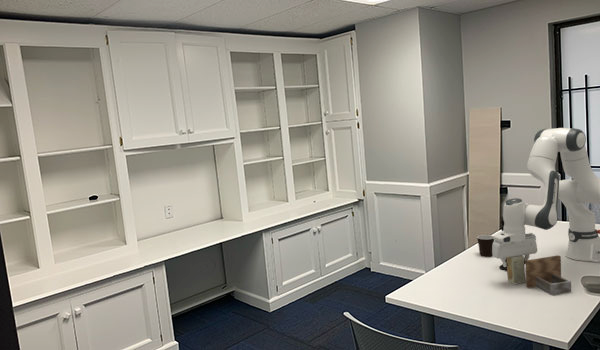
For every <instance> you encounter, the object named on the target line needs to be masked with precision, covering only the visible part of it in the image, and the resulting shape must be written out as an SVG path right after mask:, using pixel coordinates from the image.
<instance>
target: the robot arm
mask: <svg viewBox="0 0 600 350" xmlns="http://www.w3.org/2000/svg"><path fill="white" fill-rule="evenodd" d="M586 137H587V136H586V134H585V132H584V131H583V130H581V129H579V128H576V127H575V128H574V127H573V128H570V127H569V128H568V127H558V128H556V127H555V128H544V129H539V130H538V131H537V132H536V134H535V135H534V138H533V143H534V144H533V146H532V149H531V150H530V153H529V156H528V159H527V165H526V169H527V171H528V173H529V175H530V176H532V178H534V179H536V180H538V181H540V182H541V183H543V185H544V193H543V195H544V196H543V204H542V205H539V204H531V203H527V202H524V200H523V199H521V198H515V197H514V198H509V199H507V200H505V201H504V204H503V208H502V209H503V212H502V216H503V220H504V230H503V231H502V230H501V231H500V232H498V233H495V234H494V235H492V236H493V239H494V242H493V245H492V255H493V256H492V257H493V258H496V259H500V261H501V262H502V264H503V266H504V267H508V263H507V262H506V261H505V260H506V258H507V257H514V256H521V255H523V256H524V265H526V262H525V260H530V259H529V258H530V255H535V254H537V252H538V246H537V245H538V244H537V237H536V234H534V233H533V232H531V233H526V226H529V227H534V228H538V229H541V230H544V231H546V230H550V229H551V228H553V227H554V226H555V225H557V223H558V220H559V219H558V218H559V216H558V214H559V213H558V203H559V200H560V201H561V202H562V204H563V205H564V207H565V209H566V211H567V215H568V225H569V226H568V227H569V228H568V231H567V233H568V236H567V237H568V244H567V251H566V254H565V257H567V258H569V259H571V260H575V261H582V262H583V261H584V262H593V263H599V262H600V236H599V234H600V229H596V216H595V214H594V212H593V211H592V210H590V209H589V208H588V207H587V206H586V205H585V204H593V205H595V204H596V205H597V204H600V178H599V177H598V175H596V173H595V172H594V171H593V169H592V167H591V164H590V159H589V156H588V151H587V147H586V142H587V138H586ZM558 153H560V159H561V163H562V168H563V172H564V173H565V175H566V176H568V177H569V178H571V179H562V180H561V179H560V176H559V174H558V172H557V171H556V162H557V158H558ZM525 225H526V226H525Z"/></svg>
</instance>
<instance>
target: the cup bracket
mask: <svg viewBox="0 0 600 350" xmlns="http://www.w3.org/2000/svg"><path fill="white" fill-rule="evenodd" d="M525 262H526V264H525V286H526V288H527V289H530V288H537V289H539V290H540V291H542V292H545V293H547V294H548V295H550V296H556V295H561V294H562V295H563V294H567V293H572V281H570V280H568V279H567V278H564V277H562V256H561V255H558V254H557V255H552V256H547V257H539V258H533V259H528V260H525Z"/></svg>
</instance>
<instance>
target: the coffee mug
mask: <svg viewBox="0 0 600 350" xmlns="http://www.w3.org/2000/svg"><path fill="white" fill-rule="evenodd" d="M493 236H494V235H490V234H481V235H477V237H476V239H477V244H478V245H477V246H478V251H479V256H480V257H483V258H491V257H492V258H493V257H494V256H493V255H492V245H493V242H494V241H495V240H494V239H493Z"/></svg>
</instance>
